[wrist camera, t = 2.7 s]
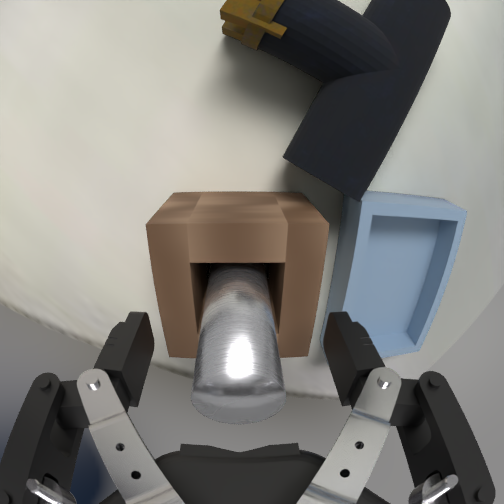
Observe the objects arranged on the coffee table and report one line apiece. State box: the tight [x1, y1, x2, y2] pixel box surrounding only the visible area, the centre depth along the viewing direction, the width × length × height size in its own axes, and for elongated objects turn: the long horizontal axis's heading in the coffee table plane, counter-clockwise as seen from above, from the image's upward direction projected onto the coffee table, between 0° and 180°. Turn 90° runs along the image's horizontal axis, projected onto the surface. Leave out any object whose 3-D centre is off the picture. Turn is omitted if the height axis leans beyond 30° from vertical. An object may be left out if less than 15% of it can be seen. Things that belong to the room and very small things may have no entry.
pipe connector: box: [220, 0, 451, 202], centre depth 12 cm, size 12×5×15 cm
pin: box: [191, 263, 286, 424], centre depth 14 cm, size 3×3×12 cm
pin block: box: [146, 192, 329, 358], centre depth 17 cm, size 8×8×6 cm
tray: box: [320, 191, 467, 365], centre depth 19 cm, size 9×13×3 cm
